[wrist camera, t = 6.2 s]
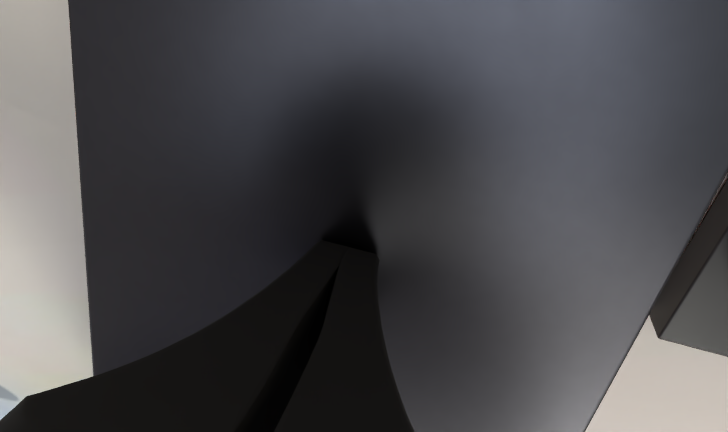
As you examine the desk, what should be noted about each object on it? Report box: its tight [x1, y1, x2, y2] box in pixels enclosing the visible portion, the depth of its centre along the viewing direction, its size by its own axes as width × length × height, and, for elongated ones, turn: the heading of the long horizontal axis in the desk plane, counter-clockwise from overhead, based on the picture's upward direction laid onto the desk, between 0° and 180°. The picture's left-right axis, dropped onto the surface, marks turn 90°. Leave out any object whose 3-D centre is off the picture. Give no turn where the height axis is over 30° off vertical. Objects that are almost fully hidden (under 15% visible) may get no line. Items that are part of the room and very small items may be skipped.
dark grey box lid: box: [68, 0, 728, 432], centre depth 13 cm, size 15×13×1 cm
